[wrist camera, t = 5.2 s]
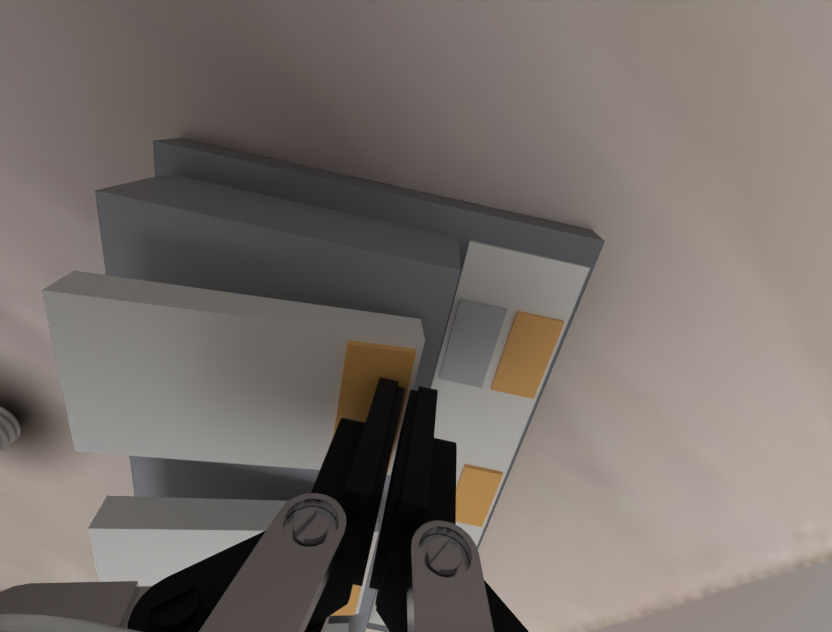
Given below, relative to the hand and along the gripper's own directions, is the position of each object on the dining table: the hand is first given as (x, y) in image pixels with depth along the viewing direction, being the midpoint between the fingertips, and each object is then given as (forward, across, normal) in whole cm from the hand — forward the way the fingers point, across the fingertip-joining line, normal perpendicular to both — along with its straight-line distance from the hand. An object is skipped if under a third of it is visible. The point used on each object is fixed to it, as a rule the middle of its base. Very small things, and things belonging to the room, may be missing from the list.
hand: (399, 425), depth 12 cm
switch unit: (+7, +2, +8) cm, 11 cm away
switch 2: (+1, +5, +8) cm, 9 cm away
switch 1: (+1, +4, 0) cm, 5 cm away
